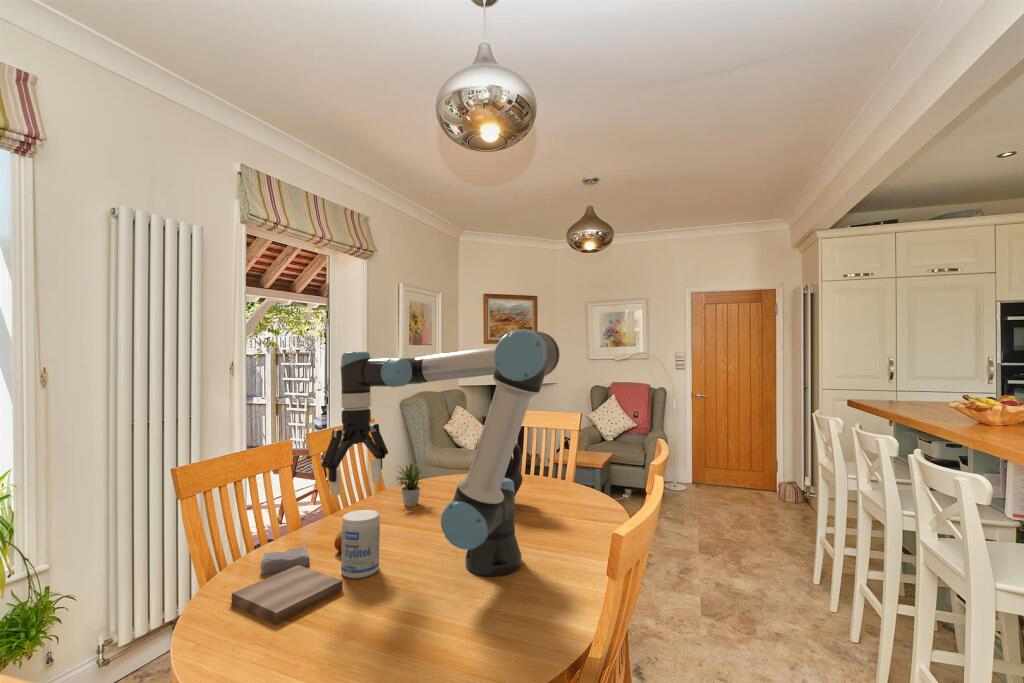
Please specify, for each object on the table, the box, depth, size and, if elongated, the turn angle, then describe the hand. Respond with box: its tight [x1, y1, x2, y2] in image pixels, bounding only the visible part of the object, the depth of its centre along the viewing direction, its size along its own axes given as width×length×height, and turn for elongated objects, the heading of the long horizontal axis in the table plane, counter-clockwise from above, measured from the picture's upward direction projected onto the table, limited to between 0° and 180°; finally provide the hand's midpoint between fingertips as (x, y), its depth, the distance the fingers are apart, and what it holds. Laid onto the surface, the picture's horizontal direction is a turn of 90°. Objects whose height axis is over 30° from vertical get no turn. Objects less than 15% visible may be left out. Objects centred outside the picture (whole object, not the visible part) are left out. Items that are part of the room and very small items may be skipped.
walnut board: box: [231, 565, 343, 626], centre depth 112 cm, size 17×17×2 cm
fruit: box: [334, 529, 342, 553], centre depth 140 cm, size 8×8×8 cm
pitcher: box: [504, 442, 523, 496], centre depth 179 cm, size 21×22×25 cm
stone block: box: [260, 546, 311, 576], centre depth 130 cm, size 12×5×10 cm
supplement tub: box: [340, 509, 381, 579], centre depth 126 cm, size 10×10×15 cm
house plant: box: [395, 461, 427, 507], centre depth 184 cm, size 14×14×16 cm
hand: (357, 487), depth 129 cm, fingers open, 13 cm apart
